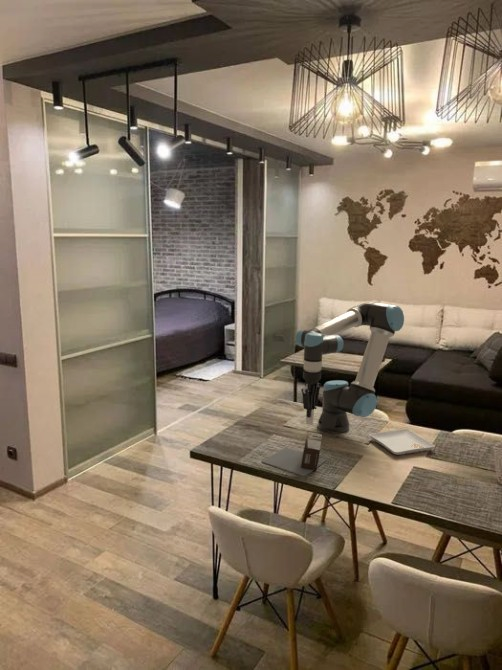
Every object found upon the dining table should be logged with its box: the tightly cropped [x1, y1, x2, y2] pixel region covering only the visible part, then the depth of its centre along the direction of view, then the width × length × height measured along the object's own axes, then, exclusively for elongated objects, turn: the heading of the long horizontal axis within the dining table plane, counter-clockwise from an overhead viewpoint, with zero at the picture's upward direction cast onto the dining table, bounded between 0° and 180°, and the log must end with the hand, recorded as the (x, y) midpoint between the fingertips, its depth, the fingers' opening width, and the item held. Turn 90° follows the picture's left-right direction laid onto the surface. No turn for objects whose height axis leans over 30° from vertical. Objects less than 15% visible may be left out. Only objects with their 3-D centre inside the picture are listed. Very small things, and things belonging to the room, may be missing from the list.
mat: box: [261, 446, 327, 478], centre depth 207 cm, size 18×20×1 cm
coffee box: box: [301, 431, 323, 471], centre depth 206 cm, size 9×6×16 cm
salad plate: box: [368, 428, 436, 456], centre depth 225 cm, size 21×21×3 cm
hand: (309, 423), depth 214 cm, fingers closed
